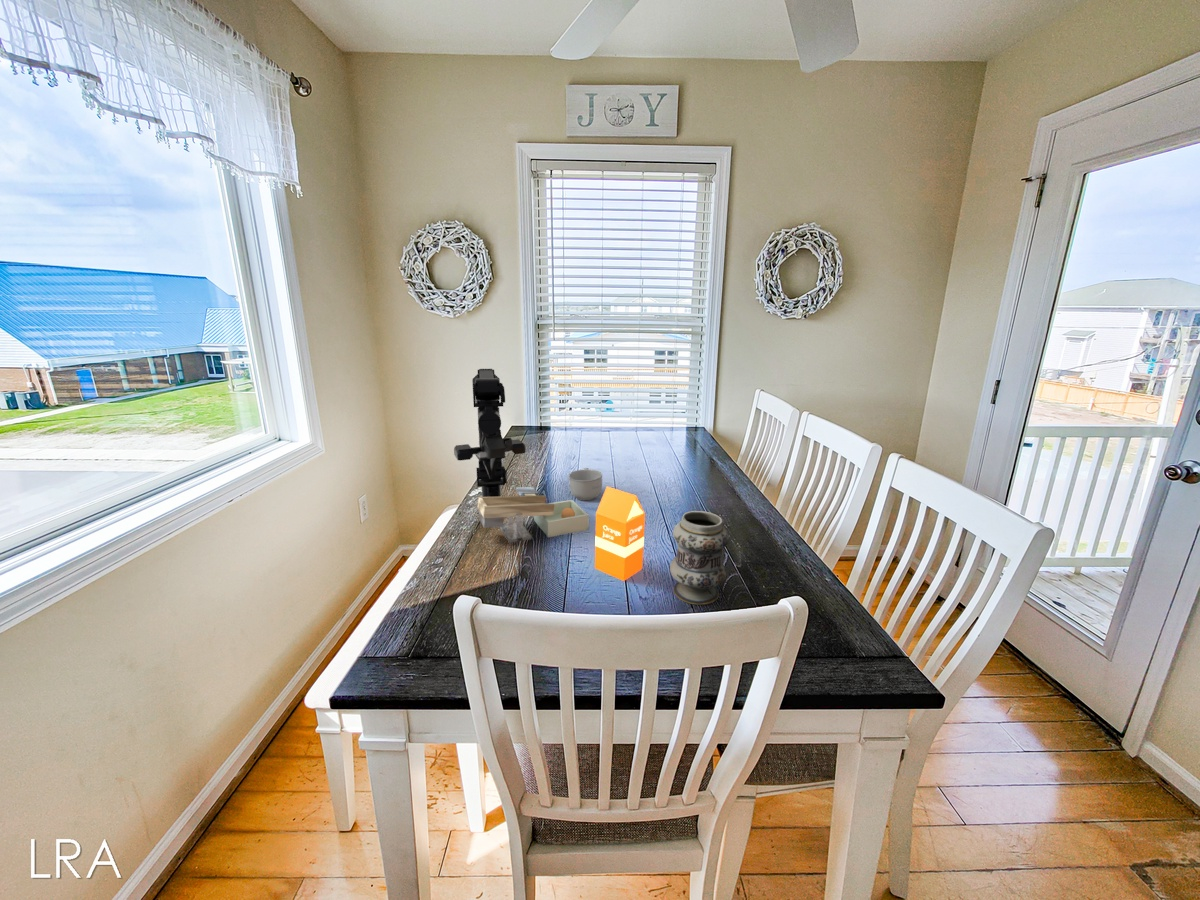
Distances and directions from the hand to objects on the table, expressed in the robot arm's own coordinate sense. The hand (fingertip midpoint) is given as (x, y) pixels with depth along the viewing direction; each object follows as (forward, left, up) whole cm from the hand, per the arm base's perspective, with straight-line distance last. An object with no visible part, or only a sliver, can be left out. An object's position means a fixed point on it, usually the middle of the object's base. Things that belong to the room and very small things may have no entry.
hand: (491, 478), depth 140 cm
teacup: (-8, +33, -13) cm, 36 cm away
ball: (+10, +19, -10) cm, 24 cm away
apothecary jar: (+54, +32, -13) cm, 64 cm away
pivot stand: (+10, +3, -13) cm, 17 cm away
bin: (+10, +17, -13) cm, 24 cm away
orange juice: (+38, +21, -13) cm, 45 cm away
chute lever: (+5, +3, -10) cm, 11 cm away
